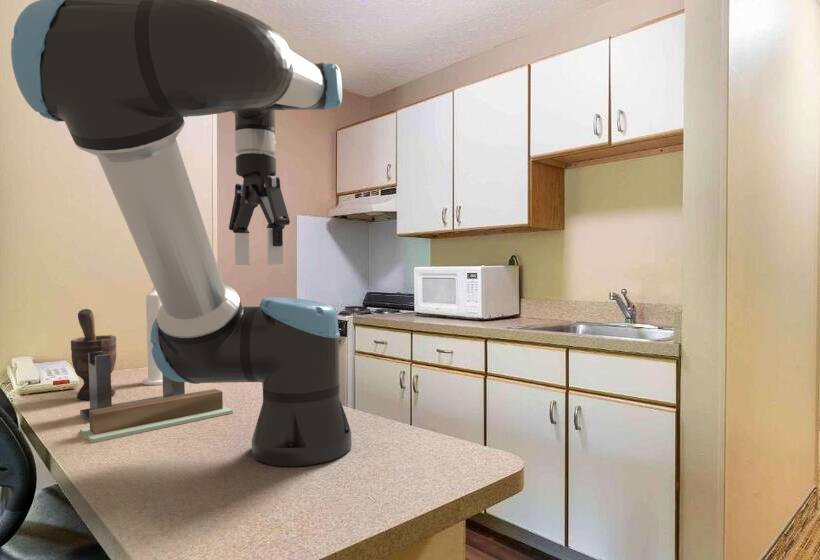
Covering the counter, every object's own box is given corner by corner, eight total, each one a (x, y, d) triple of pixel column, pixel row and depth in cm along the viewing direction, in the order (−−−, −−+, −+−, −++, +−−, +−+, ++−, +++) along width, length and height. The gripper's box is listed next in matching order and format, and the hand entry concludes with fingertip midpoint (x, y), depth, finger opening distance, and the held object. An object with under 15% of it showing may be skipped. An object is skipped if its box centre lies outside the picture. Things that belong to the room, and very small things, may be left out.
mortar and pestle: (124, 399, 113) (121, 307, 113) (77, 407, 108) (74, 310, 107) (114, 390, 122) (111, 304, 122) (70, 396, 117) (67, 306, 116)
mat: (232, 413, 102) (232, 410, 102) (91, 442, 86) (91, 439, 86) (215, 405, 108) (215, 402, 108) (80, 431, 91) (80, 428, 91)
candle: (145, 380, 133) (142, 281, 132) (175, 378, 135) (173, 280, 134) (139, 386, 126) (137, 282, 125) (172, 384, 128) (169, 281, 127)
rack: (194, 403, 110) (192, 346, 109) (89, 422, 97) (87, 357, 96) (180, 396, 116) (178, 342, 115) (80, 414, 103) (78, 353, 102)
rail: (222, 408, 103) (222, 391, 103) (94, 434, 88) (94, 414, 88) (215, 405, 106) (215, 388, 105) (89, 430, 91) (89, 410, 90)
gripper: (307, 147, 96) (309, 263, 97) (244, 167, 114) (247, 264, 115) (269, 141, 91) (272, 264, 91) (210, 162, 109) (213, 265, 110)
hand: (258, 264), depth 103 cm, fingers open, 13 cm apart
